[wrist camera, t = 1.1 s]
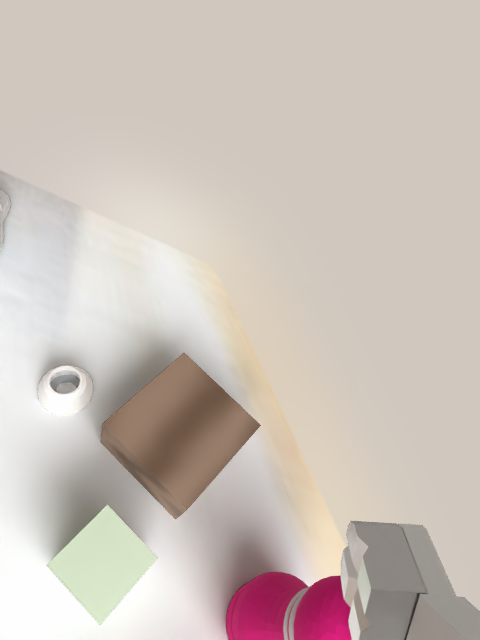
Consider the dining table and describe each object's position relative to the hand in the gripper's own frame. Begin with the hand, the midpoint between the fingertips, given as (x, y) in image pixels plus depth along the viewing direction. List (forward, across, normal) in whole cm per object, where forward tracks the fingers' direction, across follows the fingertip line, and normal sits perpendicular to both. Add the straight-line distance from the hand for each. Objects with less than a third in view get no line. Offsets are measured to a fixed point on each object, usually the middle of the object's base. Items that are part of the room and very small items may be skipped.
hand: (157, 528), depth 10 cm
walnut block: (+30, +4, +21) cm, 37 cm away
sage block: (+20, +9, +27) cm, 35 cm away
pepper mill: (+20, -5, +31) cm, 37 cm away
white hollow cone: (+32, +15, +17) cm, 39 cm away
